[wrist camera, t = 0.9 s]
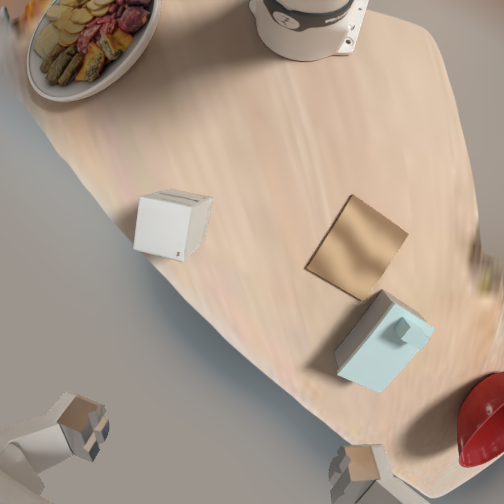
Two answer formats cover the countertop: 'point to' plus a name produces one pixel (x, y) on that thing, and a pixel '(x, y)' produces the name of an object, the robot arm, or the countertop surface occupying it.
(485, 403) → the mixing bowl
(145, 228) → the supplement box
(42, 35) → the bowl
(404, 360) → the lid
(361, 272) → the mat
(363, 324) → the tub
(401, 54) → the countertop surface
